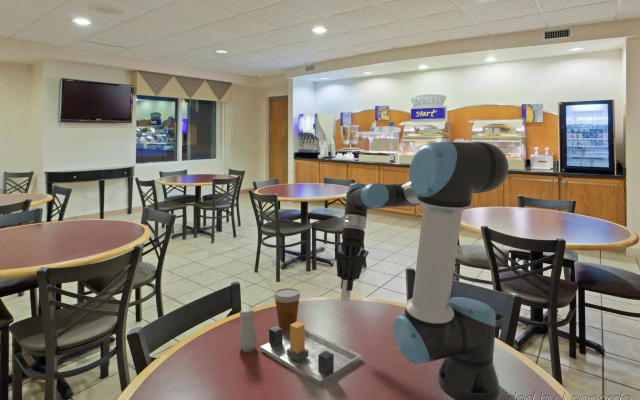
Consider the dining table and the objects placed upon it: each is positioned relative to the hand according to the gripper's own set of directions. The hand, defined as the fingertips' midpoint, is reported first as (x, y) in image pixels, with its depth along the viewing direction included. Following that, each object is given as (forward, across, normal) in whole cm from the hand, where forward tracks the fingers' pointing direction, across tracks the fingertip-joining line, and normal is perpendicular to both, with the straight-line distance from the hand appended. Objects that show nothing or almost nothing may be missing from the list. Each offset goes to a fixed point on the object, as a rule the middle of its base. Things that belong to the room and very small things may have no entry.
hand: (345, 300), depth 124 cm
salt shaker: (+19, -21, -19) cm, 34 cm away
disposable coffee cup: (+12, -25, 0) cm, 27 cm away
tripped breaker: (+18, -4, -14) cm, 23 cm away
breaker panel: (+18, -4, -9) cm, 20 cm away
